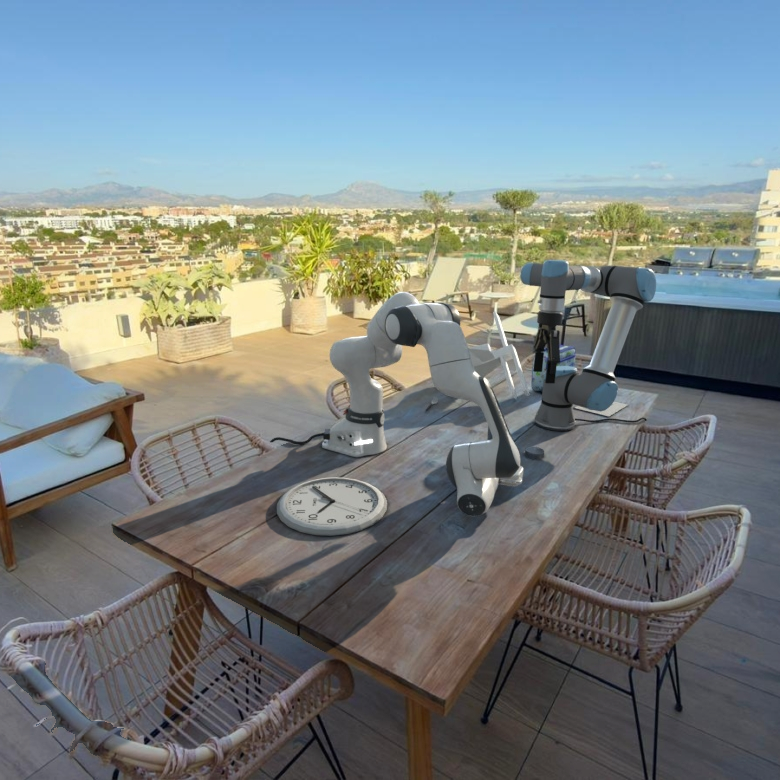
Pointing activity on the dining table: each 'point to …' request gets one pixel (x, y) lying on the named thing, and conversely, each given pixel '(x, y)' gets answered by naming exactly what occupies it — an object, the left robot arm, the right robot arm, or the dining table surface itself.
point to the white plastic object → (497, 359)
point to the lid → (534, 452)
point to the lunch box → (565, 360)
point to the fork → (432, 403)
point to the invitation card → (609, 411)
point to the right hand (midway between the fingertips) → (543, 377)
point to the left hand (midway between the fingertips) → (491, 459)
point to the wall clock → (331, 506)
